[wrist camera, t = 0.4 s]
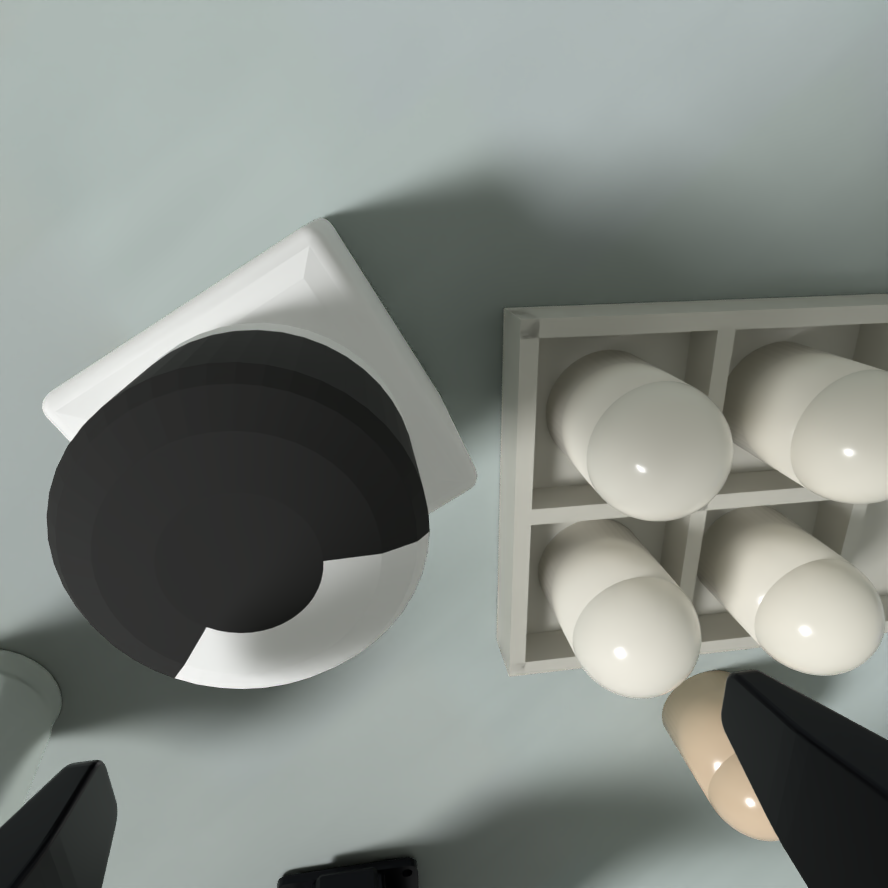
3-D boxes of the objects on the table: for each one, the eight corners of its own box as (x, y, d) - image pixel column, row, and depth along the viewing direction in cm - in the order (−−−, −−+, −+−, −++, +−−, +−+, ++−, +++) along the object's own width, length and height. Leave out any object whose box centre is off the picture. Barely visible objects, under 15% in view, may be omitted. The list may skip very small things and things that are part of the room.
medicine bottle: (134, 337, 20) (-143, 516, 8) (324, 212, 19) (295, 227, 8) (273, 505, 22) (202, 805, 11) (443, 399, 22) (544, 605, 11)
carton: (926, 592, 28) (971, 622, 26) (496, 639, 26) (509, 676, 24) (1024, 288, 23) (1088, 296, 21) (503, 307, 21) (520, 319, 19)
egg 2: (635, 605, 25) (717, 719, 20) (535, 615, 25) (591, 736, 19) (646, 513, 24) (738, 609, 18) (540, 522, 23) (602, 624, 18)
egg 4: (781, 590, 26) (899, 695, 21) (688, 599, 26) (783, 711, 20) (800, 500, 25) (934, 589, 19) (702, 509, 24) (809, 602, 19)
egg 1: (652, 458, 23) (751, 541, 17) (543, 466, 23) (608, 555, 17) (666, 346, 22) (779, 398, 16) (548, 352, 21) (623, 408, 15)
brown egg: (739, 735, 30) (829, 857, 24) (657, 746, 30) (730, 874, 24) (753, 665, 29) (853, 779, 23) (667, 676, 28) (748, 795, 22)
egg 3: (812, 447, 24) (955, 522, 18) (710, 454, 23) (826, 534, 18) (836, 338, 22) (1000, 385, 17) (727, 344, 22) (860, 393, 16)
